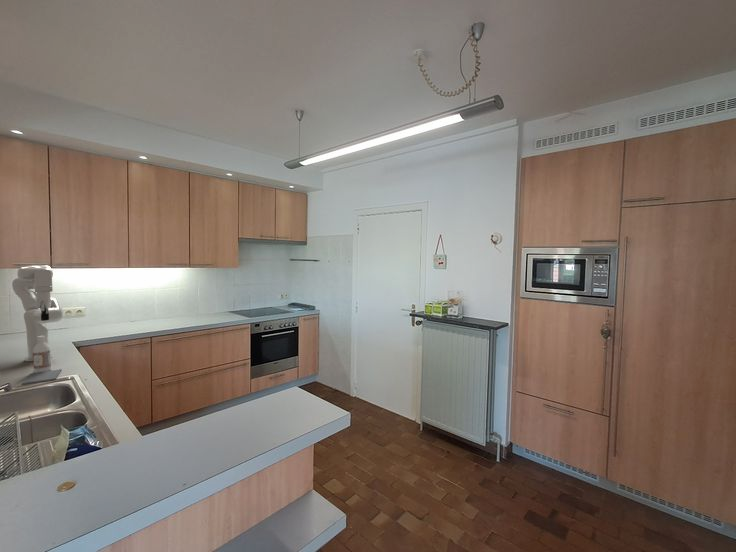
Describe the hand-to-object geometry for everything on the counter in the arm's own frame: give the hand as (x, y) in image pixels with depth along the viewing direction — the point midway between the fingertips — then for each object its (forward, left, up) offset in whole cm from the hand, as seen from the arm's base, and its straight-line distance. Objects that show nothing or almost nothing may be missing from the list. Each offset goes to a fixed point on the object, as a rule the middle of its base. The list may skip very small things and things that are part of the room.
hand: (45, 320), depth 197 cm
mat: (+26, +2, -27) cm, 38 cm away
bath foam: (+13, 0, -27) cm, 30 cm away
